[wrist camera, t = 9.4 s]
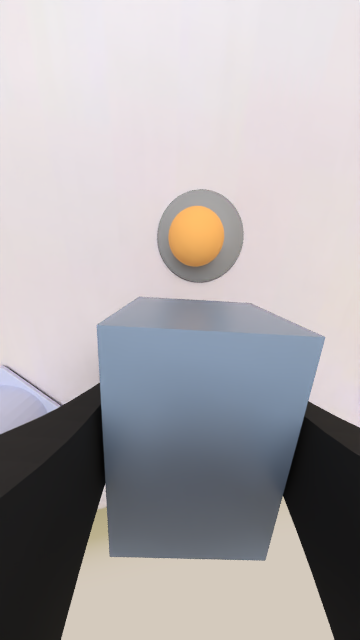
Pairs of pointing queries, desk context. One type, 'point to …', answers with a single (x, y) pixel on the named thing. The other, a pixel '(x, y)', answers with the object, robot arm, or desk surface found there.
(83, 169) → the desk surface
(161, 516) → the blue-grey rectangular block
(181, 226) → the ball
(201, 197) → the rest mark
